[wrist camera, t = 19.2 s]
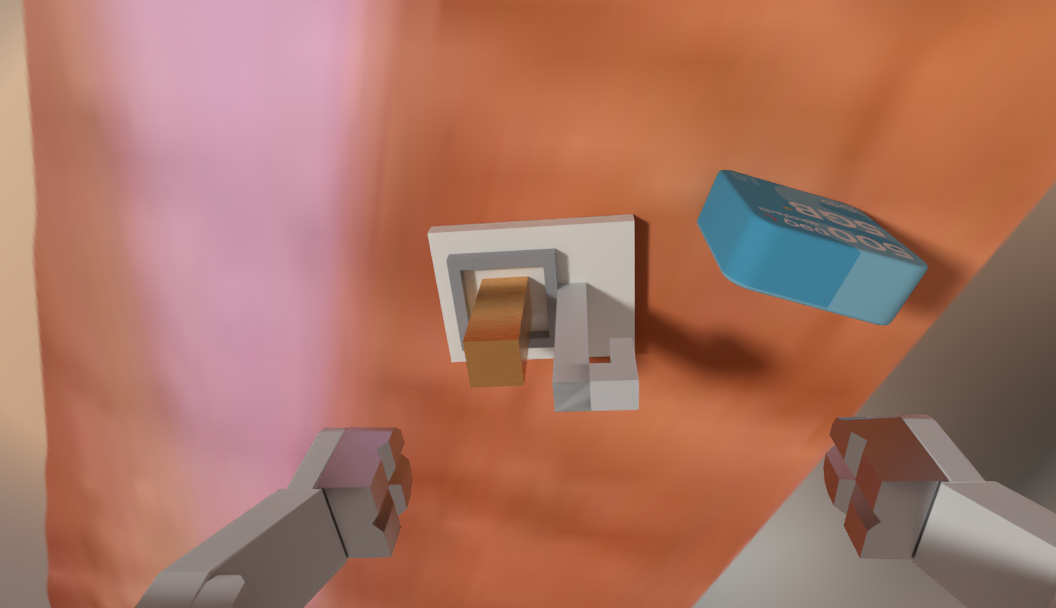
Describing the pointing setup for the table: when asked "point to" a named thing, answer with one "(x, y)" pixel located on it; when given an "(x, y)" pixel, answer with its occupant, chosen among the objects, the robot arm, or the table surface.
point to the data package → (807, 249)
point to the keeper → (553, 298)
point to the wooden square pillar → (499, 333)
